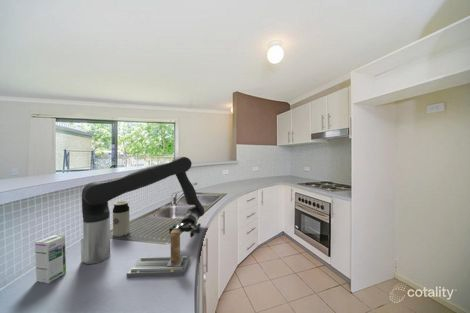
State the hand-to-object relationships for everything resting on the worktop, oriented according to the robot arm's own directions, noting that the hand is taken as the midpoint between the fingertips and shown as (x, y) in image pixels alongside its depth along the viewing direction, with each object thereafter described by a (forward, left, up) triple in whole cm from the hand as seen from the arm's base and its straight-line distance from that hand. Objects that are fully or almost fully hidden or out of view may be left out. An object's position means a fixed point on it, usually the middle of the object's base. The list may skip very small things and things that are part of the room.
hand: (181, 235), depth 80 cm
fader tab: (0, -9, -7) cm, 11 cm away
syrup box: (-45, -13, -9) cm, 47 cm away
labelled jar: (-40, +23, -9) cm, 48 cm away
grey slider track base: (-6, -9, -9) cm, 14 cm away
